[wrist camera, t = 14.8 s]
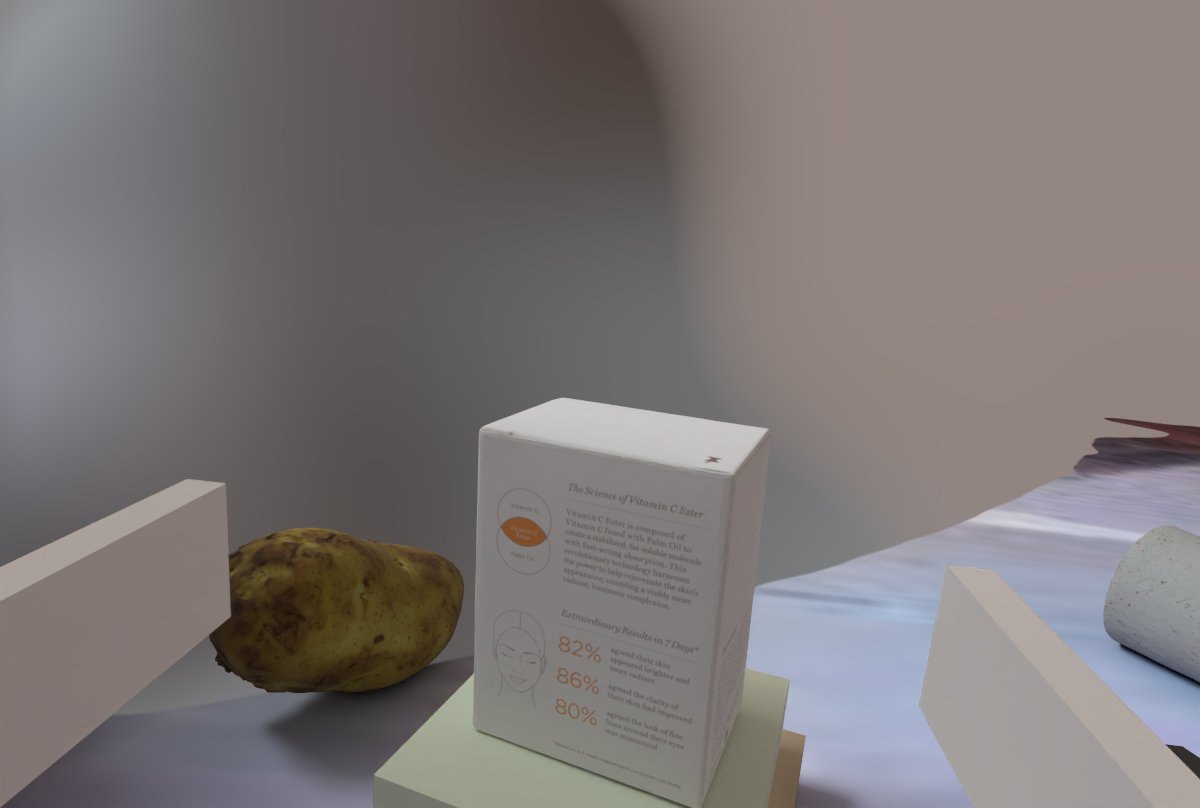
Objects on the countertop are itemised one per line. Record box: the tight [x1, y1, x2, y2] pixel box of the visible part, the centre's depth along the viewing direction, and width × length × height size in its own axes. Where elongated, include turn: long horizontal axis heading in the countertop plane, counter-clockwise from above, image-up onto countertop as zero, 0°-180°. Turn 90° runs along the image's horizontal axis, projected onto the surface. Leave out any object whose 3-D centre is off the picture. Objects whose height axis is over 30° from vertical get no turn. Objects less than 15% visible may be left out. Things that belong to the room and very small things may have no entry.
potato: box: [209, 528, 464, 693], centre depth 34 cm, size 8×13×8 cm, turn 127°
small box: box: [473, 398, 770, 808], centre depth 23 cm, size 8×6×10 cm
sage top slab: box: [373, 668, 790, 808], centre depth 25 cm, size 11×11×3 cm
